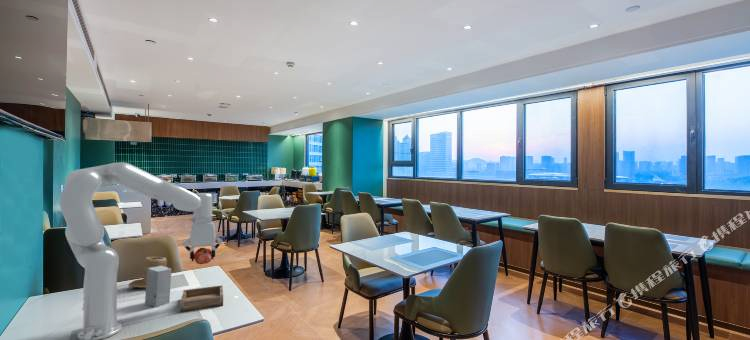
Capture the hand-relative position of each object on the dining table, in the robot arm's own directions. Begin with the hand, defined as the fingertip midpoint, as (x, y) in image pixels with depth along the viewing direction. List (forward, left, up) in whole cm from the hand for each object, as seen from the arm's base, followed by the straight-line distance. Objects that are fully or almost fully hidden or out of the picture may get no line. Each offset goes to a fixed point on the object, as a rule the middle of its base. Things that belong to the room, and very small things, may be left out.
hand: (202, 259), depth 154 cm
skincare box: (+7, +18, -20) cm, 28 cm away
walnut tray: (0, 0, -19) cm, 19 cm away
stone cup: (+35, +25, -20) cm, 47 cm away
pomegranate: (0, 0, -2) cm, 2 cm away
